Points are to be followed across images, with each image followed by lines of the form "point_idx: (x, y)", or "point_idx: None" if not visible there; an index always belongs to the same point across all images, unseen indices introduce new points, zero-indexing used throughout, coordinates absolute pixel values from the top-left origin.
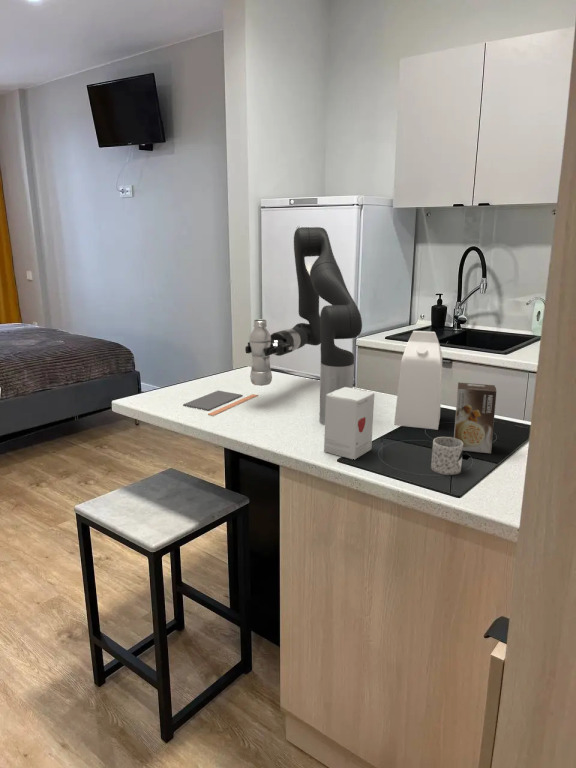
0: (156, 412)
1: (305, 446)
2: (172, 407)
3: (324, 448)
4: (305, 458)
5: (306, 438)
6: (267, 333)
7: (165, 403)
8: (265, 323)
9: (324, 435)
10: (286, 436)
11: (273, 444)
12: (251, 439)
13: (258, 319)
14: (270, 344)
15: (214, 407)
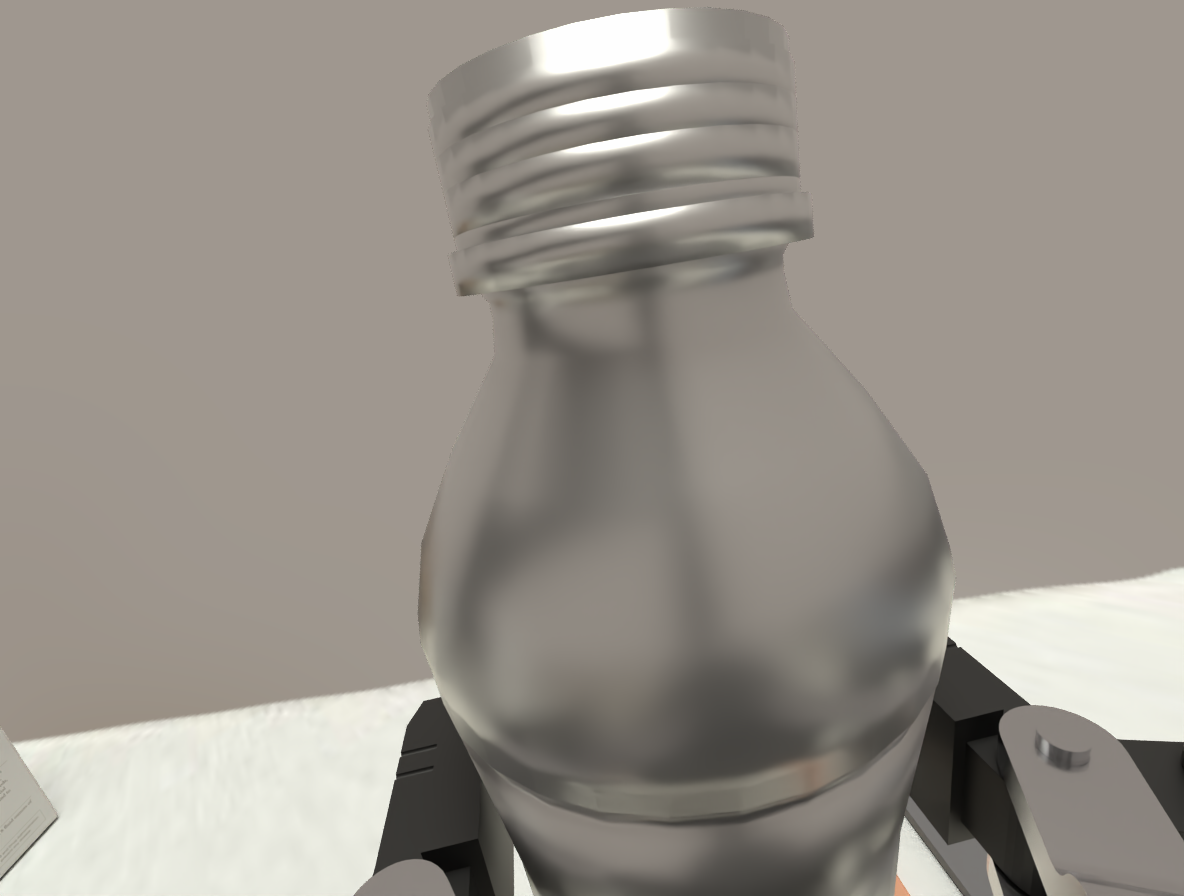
0: (981, 618)
1: (151, 806)
2: (1058, 688)
3: (49, 804)
4: (155, 732)
5: (141, 885)
6: (444, 472)
7: (1178, 694)
8: (448, 199)
9: (22, 761)
10: (262, 831)
11: (305, 734)
12: (411, 709)
13: (773, 27)
14: (494, 803)
15: (928, 842)
